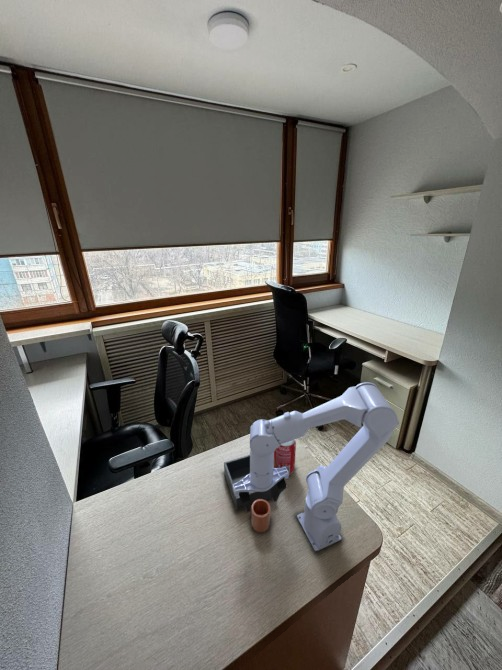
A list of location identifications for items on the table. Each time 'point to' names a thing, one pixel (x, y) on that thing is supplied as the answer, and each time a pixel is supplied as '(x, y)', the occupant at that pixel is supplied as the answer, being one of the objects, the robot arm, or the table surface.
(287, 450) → the soda can
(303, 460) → the table surface
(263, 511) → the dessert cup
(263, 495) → the tub
